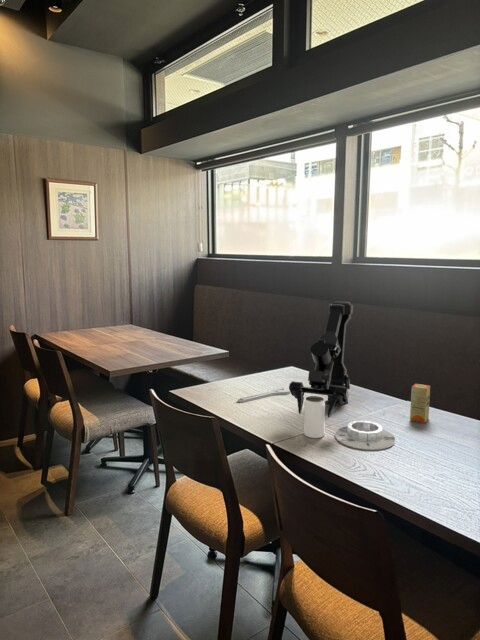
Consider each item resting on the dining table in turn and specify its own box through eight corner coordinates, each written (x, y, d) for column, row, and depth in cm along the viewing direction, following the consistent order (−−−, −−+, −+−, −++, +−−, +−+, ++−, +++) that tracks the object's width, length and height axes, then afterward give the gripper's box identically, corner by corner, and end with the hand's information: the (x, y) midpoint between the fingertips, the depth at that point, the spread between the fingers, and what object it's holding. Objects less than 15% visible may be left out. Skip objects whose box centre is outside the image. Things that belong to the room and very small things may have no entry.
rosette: (359, 423, 160) (359, 412, 160) (406, 439, 147) (407, 428, 146) (323, 436, 149) (323, 425, 149) (371, 455, 135) (371, 443, 135)
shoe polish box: (409, 420, 163) (411, 386, 161) (413, 416, 167) (415, 383, 165) (424, 423, 160) (426, 389, 158) (428, 419, 164) (430, 385, 162)
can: (302, 431, 154) (302, 395, 152) (321, 430, 155) (322, 395, 153) (306, 439, 148) (307, 402, 146) (326, 438, 148) (327, 401, 146)
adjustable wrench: (240, 404, 182) (240, 400, 182) (232, 400, 188) (232, 396, 188) (293, 394, 194) (293, 390, 194) (284, 390, 200) (284, 386, 200)
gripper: (290, 357, 155) (279, 399, 147) (348, 362, 148) (339, 407, 139) (297, 375, 163) (287, 415, 155) (351, 380, 156) (344, 423, 148)
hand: (313, 415), depth 149 cm, fingers open, 9 cm apart
